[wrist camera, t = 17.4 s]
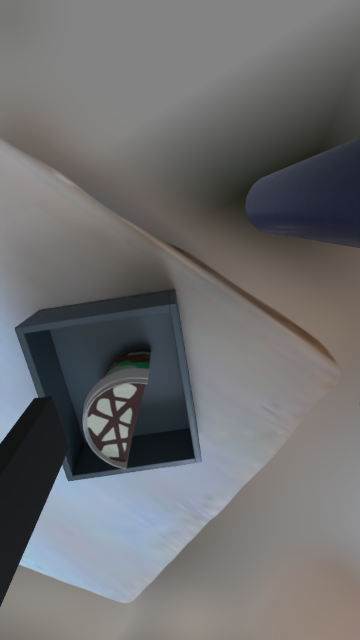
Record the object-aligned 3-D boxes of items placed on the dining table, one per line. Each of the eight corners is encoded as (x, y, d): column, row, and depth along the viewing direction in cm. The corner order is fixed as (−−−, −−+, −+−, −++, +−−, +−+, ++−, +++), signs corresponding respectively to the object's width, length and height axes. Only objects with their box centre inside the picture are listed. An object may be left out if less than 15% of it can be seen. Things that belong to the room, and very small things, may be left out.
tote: (175, 288, 39) (176, 303, 32) (197, 428, 46) (201, 462, 39) (39, 309, 39) (14, 327, 33) (81, 445, 46) (68, 481, 40)
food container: (107, 330, 40) (87, 366, 30) (153, 340, 40) (148, 378, 31) (92, 409, 43) (70, 463, 34) (134, 417, 44) (125, 473, 34)
